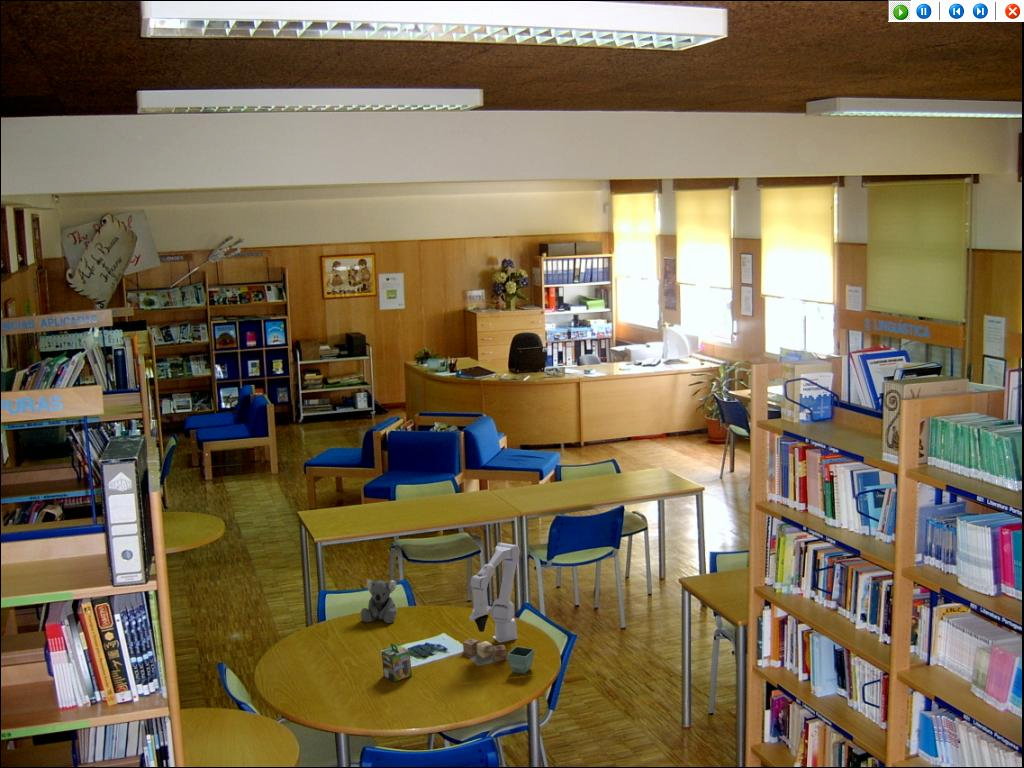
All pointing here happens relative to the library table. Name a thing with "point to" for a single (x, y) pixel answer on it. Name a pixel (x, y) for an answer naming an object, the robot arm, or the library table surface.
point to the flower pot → (521, 659)
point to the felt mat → (481, 659)
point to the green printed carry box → (396, 663)
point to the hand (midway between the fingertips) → (481, 631)
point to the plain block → (484, 649)
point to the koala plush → (380, 602)
